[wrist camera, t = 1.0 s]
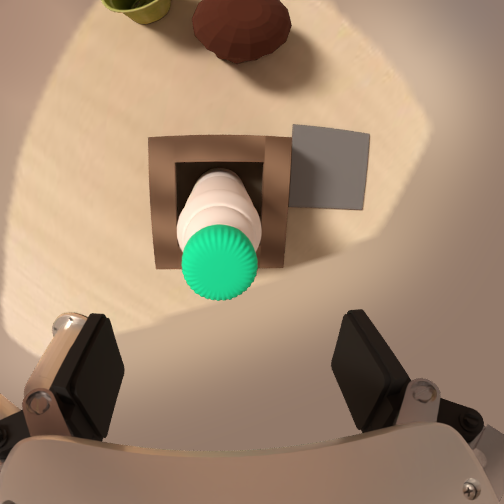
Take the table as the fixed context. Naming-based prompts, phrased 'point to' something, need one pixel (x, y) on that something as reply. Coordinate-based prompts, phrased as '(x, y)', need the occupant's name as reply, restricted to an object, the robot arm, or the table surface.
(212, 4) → the muffin
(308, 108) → the table surface
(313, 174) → the mat
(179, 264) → the slot box
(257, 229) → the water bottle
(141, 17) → the plant pot
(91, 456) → the robot arm
